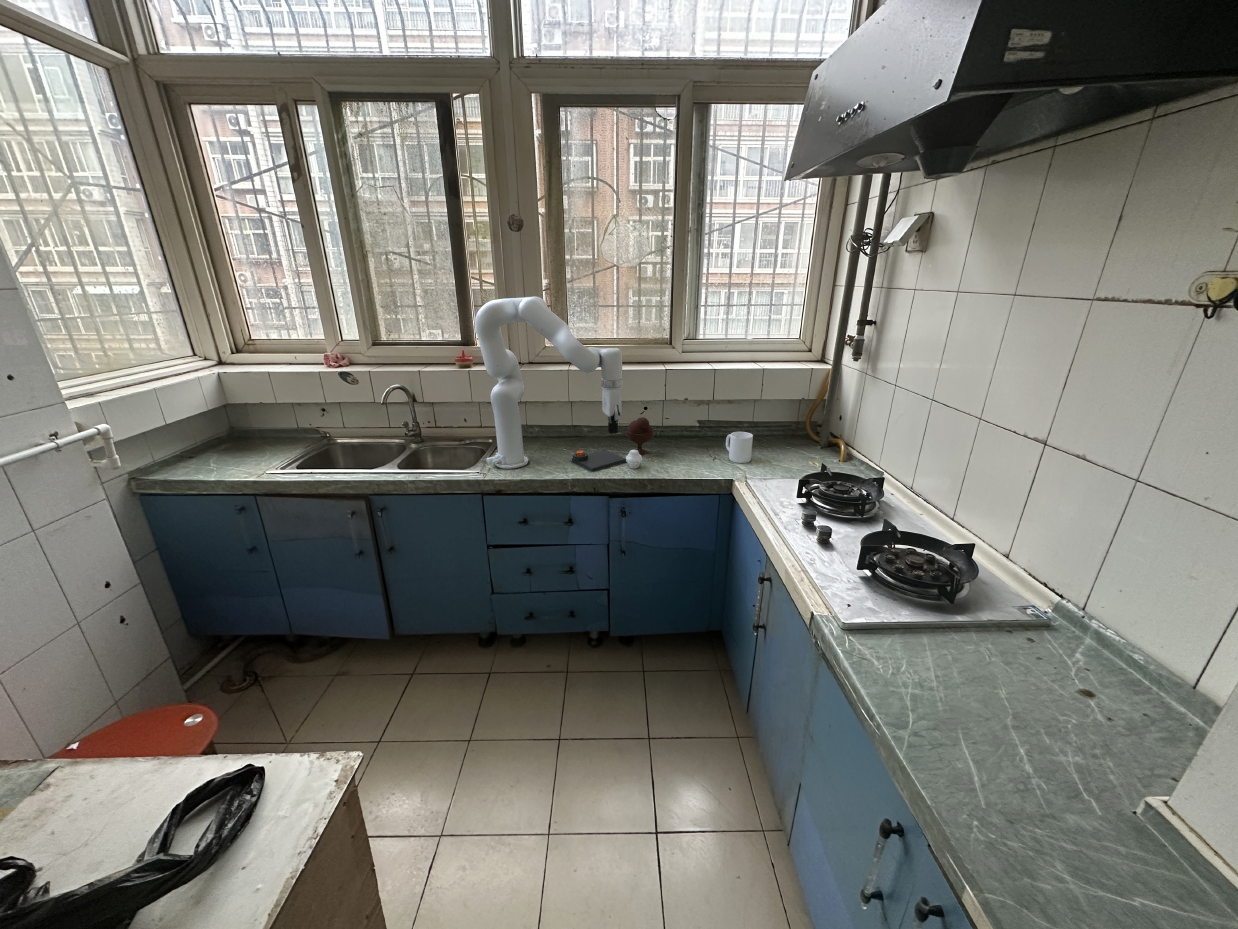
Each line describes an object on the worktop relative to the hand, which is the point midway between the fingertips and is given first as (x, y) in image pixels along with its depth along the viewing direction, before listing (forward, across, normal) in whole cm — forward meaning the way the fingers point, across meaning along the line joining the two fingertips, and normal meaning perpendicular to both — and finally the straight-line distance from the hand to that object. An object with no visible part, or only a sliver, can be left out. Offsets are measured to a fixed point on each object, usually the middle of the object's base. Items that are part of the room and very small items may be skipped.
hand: (613, 432), depth 185 cm
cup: (+13, +8, +48) cm, 50 cm away
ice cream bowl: (+13, -10, +14) cm, 22 cm away
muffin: (+13, +4, +7) cm, 15 cm away
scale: (+13, -5, -4) cm, 15 cm away
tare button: (+10, -7, -11) cm, 17 cm away
